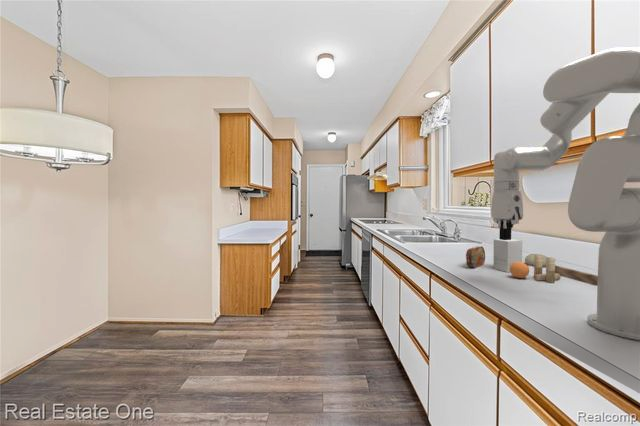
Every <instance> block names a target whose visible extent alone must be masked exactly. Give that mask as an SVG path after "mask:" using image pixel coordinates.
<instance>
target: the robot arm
mask: <svg viewBox="0 0 640 426" xmlns="http://www.w3.org/2000/svg"><path fill="white" fill-rule="evenodd" d="M609 94H640V47H629V46H628V47H627V46H626V47H614V48H610V49H605V50H601V51H599V52H597V53H595V54H591V55H590V56H586V57H584V58H581V59H578V60H575V61H573V62H571V63H567V64H565V65H563V66H562V67H561V66H560V67H559V68H558V69H557V70H555V71H554V72H552V74H551V75H550V76H549V77H548V79H546V82H545V83H544V86H543V91H542V95H543V97H544V99H545V100H546V102H548V103H551V104H550V105H549V107H548V108H546V110H544V112H543V113H542V114H541V116H540V118H539V121H540V125H541V126H542V127H543V129H544V130H546V131H548V133H550V134H551V136H550V137H549V139H548V140H547V141H546V142H545V143H544V144H543V145H542V146H516V147H511V148H509V149H507V150H504V151H498V152H497V153H495V154H494V157H493V192H492V199H491V206H490V207H491V208H490V211H491V212H490V214H491V218H492V220H493V222H494V223H496V224H497V225H498V226H497V227H498V229H499V238H498V239H500V240H511V239H512V229H513V228H514V225H517V224H520V221H521V220H522V219H524V203H523V201H524V200H523V196H522V195H523V194H522V192H521V190H520V172H521V171H523V172H525V171H538V172H539V171H544V170H547V169H549V168H551V167H552V166H554V164H556V163H557V162H558V161H559V160H560V159H561V158H563V157H564V156H565V154H566V153H567V152H568V150H569V148H570V145H571V142H572V138H573V136H572V134H573V133H572V132H573V130H574V129H575V128H576V127H577V126H578V125H579V124H580V123H581V122H582V121H583V120H584V119H585V118H586V117H587V116H588V115H589V114H590V113H592V111H593V110H594V109H595V108H596V107H597V106H598V105H599V104H600V103H602V101H603V100H605V98H606V97H607V96H608V95H609ZM577 165H578V166H577V169H576V172H575V173H576V174H575V176H574V180H573V183H572V188H571V192H570V196H569V199H568V200H569V201H568V204H567V205H568V206H567V214H568V217H569V220H570V222H571V223H572V225H573V226H575V227H576V228H577V229H579V230H582V231H585V232H592V233H593V232H594V233H599V232H600V233H602V232H603V233H604V234H603V235H602V238H601V241H600V244H599V247H598V257H597V261H598V262H597V276H598V285H596V286H597V288H596V289H597V290H596V313H590V314H588V315H587V323H588V324H589V325H591V326H592V327H593V328H595V329H596V330H597V329H598V330H600V331H602V332H605V333H607V334H610V335H613V336H618V337H621V338H626V339H630V340H635V341H640V187H625V184H626V183H640V102H639V103H638V105H637V106H635V108H634V109H633V111H632V113H631V115H630V117H629V119H628V124H627V127H626V130H625V133H624V135H611V136H607V137H603V138H600V139H598V140H596V141H594V142H592V143H591V144H590V145H589V146H588V147H587V148H586V149H585V150H584V152H583V153H582V154H581V157H580V159H579V161H578V164H577Z"/></svg>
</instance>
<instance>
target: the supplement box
mask: <svg viewBox="0 0 640 426" xmlns="http://www.w3.org/2000/svg"><path fill="white" fill-rule="evenodd" d="M514 262H523V240H520V239H513V238H511V240H500V239H499V238H495V239H493V269H494V270H498V271H503V272H506V273H511V272H510V266H511V265H512V264H513V263H514Z"/></svg>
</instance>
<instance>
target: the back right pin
mask: <svg viewBox="0 0 640 426" xmlns="http://www.w3.org/2000/svg"><path fill="white" fill-rule="evenodd" d="M546 257H547V258H546V267H545V274H546V281H545V282H546V283H548V284H554V283H556V282H555V281H556V280H555V265H556V258H555V257H548V256H546Z"/></svg>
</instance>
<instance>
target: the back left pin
mask: <svg viewBox="0 0 640 426" xmlns="http://www.w3.org/2000/svg"><path fill="white" fill-rule="evenodd" d="M542 255H543V254H540V255H534V266H533V276H534V275H535V274H543V267H542V261H543V256H542Z"/></svg>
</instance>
